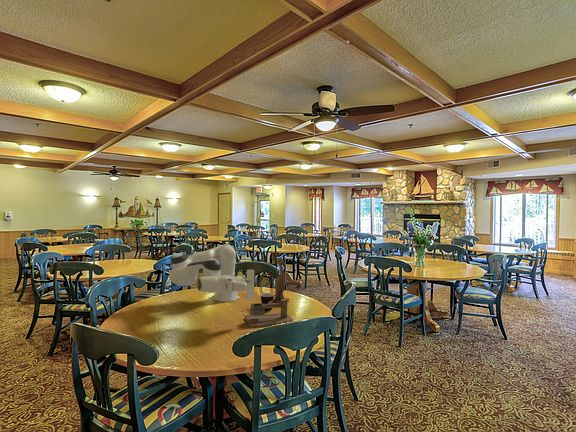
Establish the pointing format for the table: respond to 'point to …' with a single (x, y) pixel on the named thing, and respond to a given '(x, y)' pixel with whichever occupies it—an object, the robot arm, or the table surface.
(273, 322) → the cup bracket
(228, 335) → the table surface
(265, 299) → the coffee mug
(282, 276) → the bird sculpture
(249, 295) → the rail
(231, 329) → the table surface
